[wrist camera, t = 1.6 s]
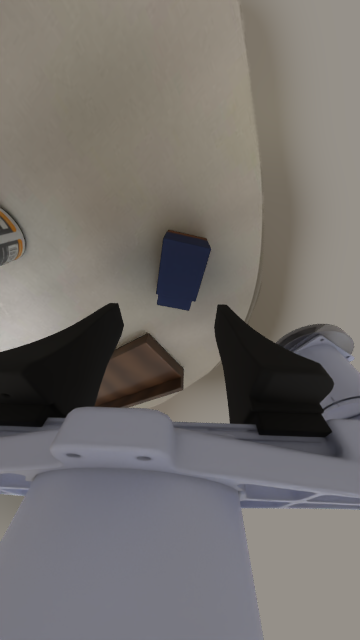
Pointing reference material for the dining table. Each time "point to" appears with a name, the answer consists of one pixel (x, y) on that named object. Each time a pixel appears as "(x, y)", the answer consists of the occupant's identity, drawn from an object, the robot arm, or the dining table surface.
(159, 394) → the shelf
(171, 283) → the navy block wooden base
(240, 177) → the dining table surface
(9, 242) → the pill bottle
